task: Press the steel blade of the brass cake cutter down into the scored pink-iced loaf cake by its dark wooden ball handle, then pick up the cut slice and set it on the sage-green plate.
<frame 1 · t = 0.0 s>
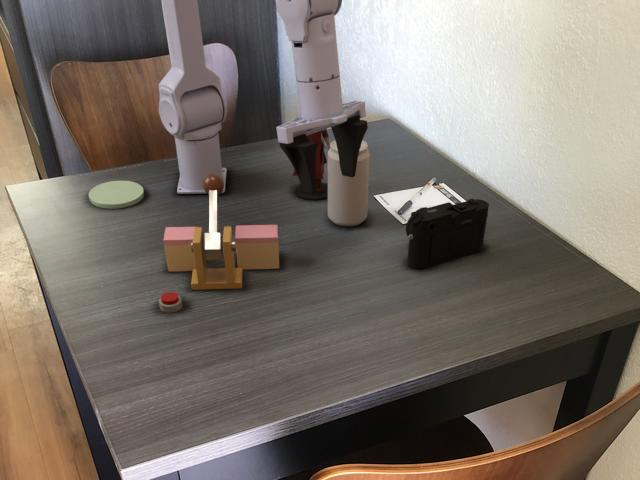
hand: (329, 183, 103), 11 cm above the table, tool pointing down, fingers open, 7 cm apart
cutter: (213, 214, 101), point 8 cm above the table, hinge at 25.0°
cake: (258, 262, 107), on the table
camera: (438, 252, 111), on the table
figurine: (313, 193, 125), on the table
beverage can: (347, 220, 118), on the table
push button: (171, 307, 99), on the table
cake slice: (184, 264, 107), on the table
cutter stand: (217, 281, 103), on the table
plate: (117, 196, 122), on the table
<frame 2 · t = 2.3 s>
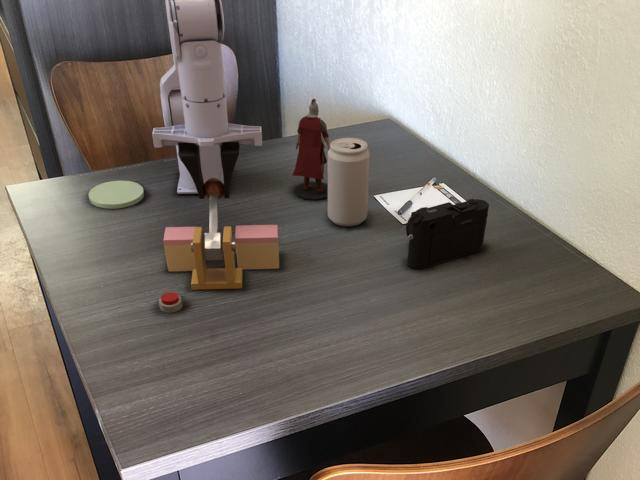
hand: (214, 195, 104), 8 cm above the table, tool pointing down, fingers closed on cutter, 3 cm apart
cutter: (213, 216, 102), point 7 cm above the table, hinge at 20.4°, touching gripper
everything else where it was.
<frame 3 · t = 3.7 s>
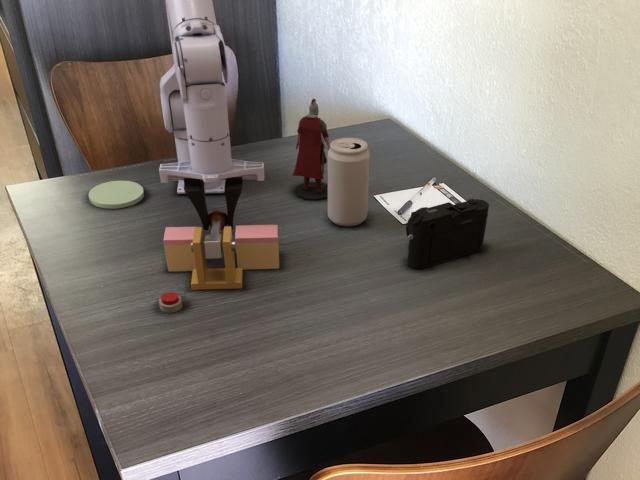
hand: (218, 227, 109), 3 cm above the table, tool pointing down, fingers closed on cutter, 3 cm apart
cutter: (215, 232, 104), point 5 cm above the table, hinge at -7.4°, touching gripper
everything else where it was.
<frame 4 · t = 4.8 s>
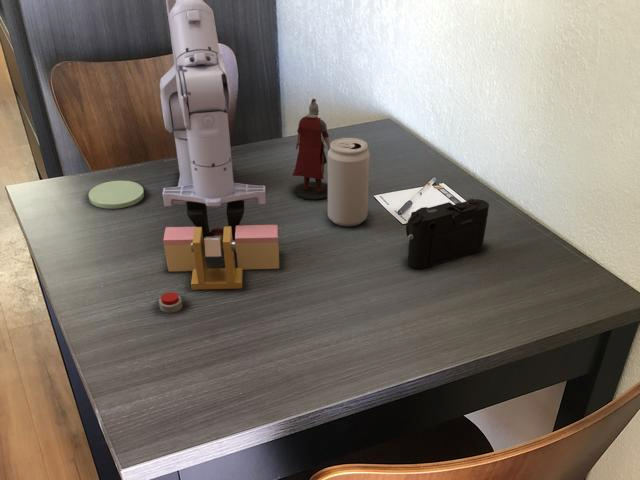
hand: (220, 248, 111), 0 cm above the table, tool pointing down, fingers closed on cutter, 3 cm apart
cutter: (216, 241, 104), point 4 cm above the table, hinge at -21.1°, touching gripper
everything else where it was.
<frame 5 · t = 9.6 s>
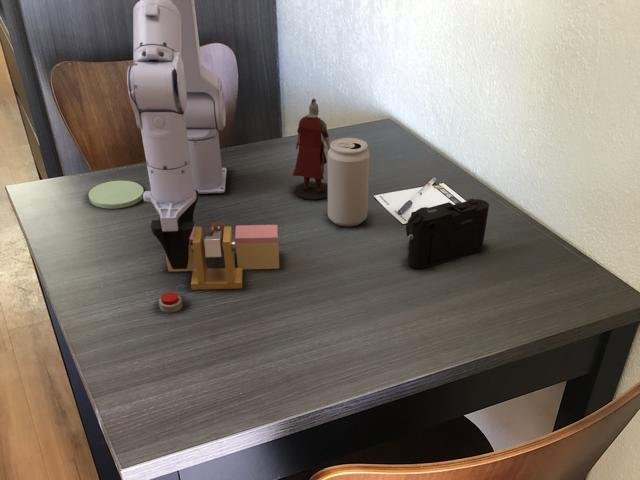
hand: (182, 254, 105), 2 cm above the table, tool pointing down, fingers open, 7 cm apart
cutter: (216, 239, 104), point 4 cm above the table, hinge at -17.6°
everything else where it was.
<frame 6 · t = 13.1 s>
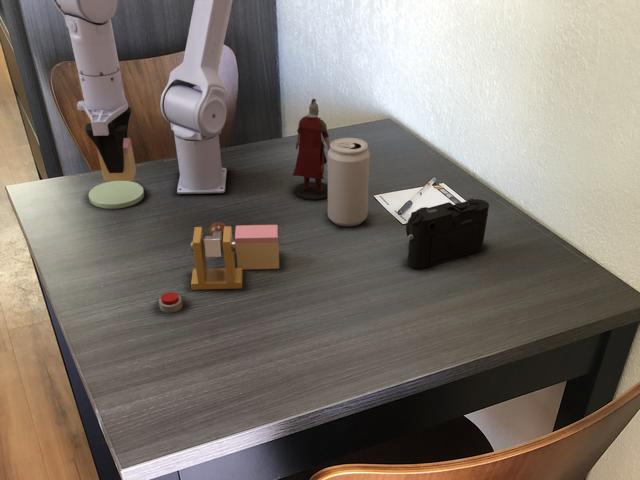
hand: (118, 166, 111), 8 cm above the table, tool pointing down, fingers closed on cake slice, 4 cm apart
cake slice: (120, 175, 112), point 7 cm above the table, touching gripper
everything else where it was.
when the fingers open (2 cm above the table, at t = 15.8 s): cake slice stays where it is, resting on plate.
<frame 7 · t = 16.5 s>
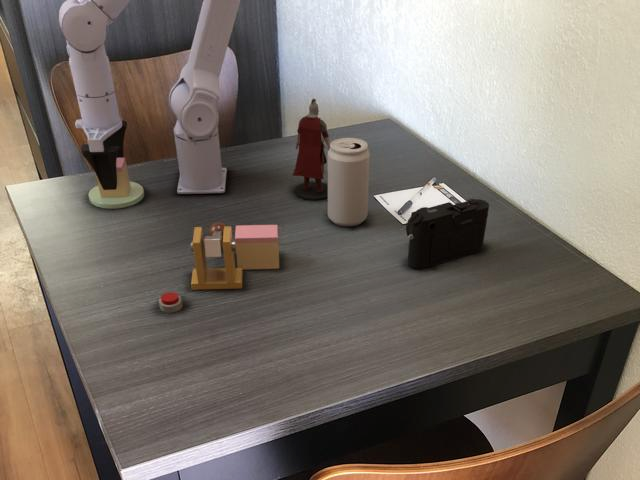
hand: (113, 178, 120), 3 cm above the table, tool pointing down, fingers open, 7 cm apart
cake slice: (115, 192, 122), point 1 cm above the table, touching plate
everything else where it was.
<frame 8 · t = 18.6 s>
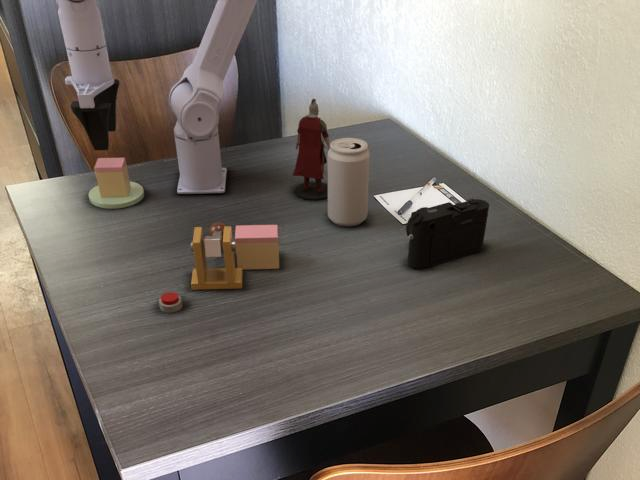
hand: (105, 139, 116), 9 cm above the table, tool pointing down, fingers open, 7 cm apart
nothing on the table moved.
at the end: cutter at -18° (first picture: +25°); cake slice inside the target area on the plate (0.0 cm from its centre), point 0.8 cm above the plate's base; cake slice tilted 0° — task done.
